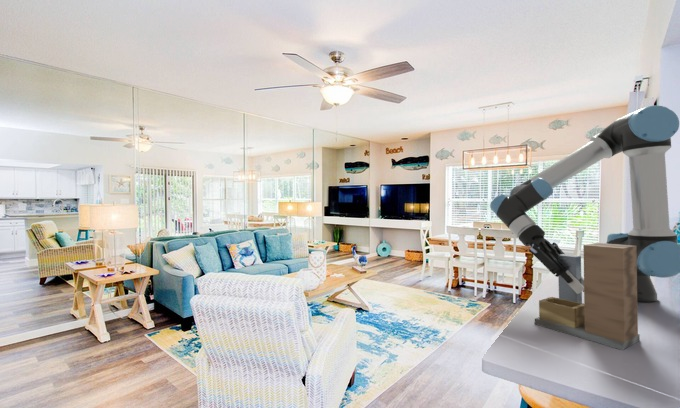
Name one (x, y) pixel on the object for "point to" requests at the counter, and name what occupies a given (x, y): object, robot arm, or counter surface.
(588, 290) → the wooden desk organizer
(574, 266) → the grey block
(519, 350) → the counter surface
